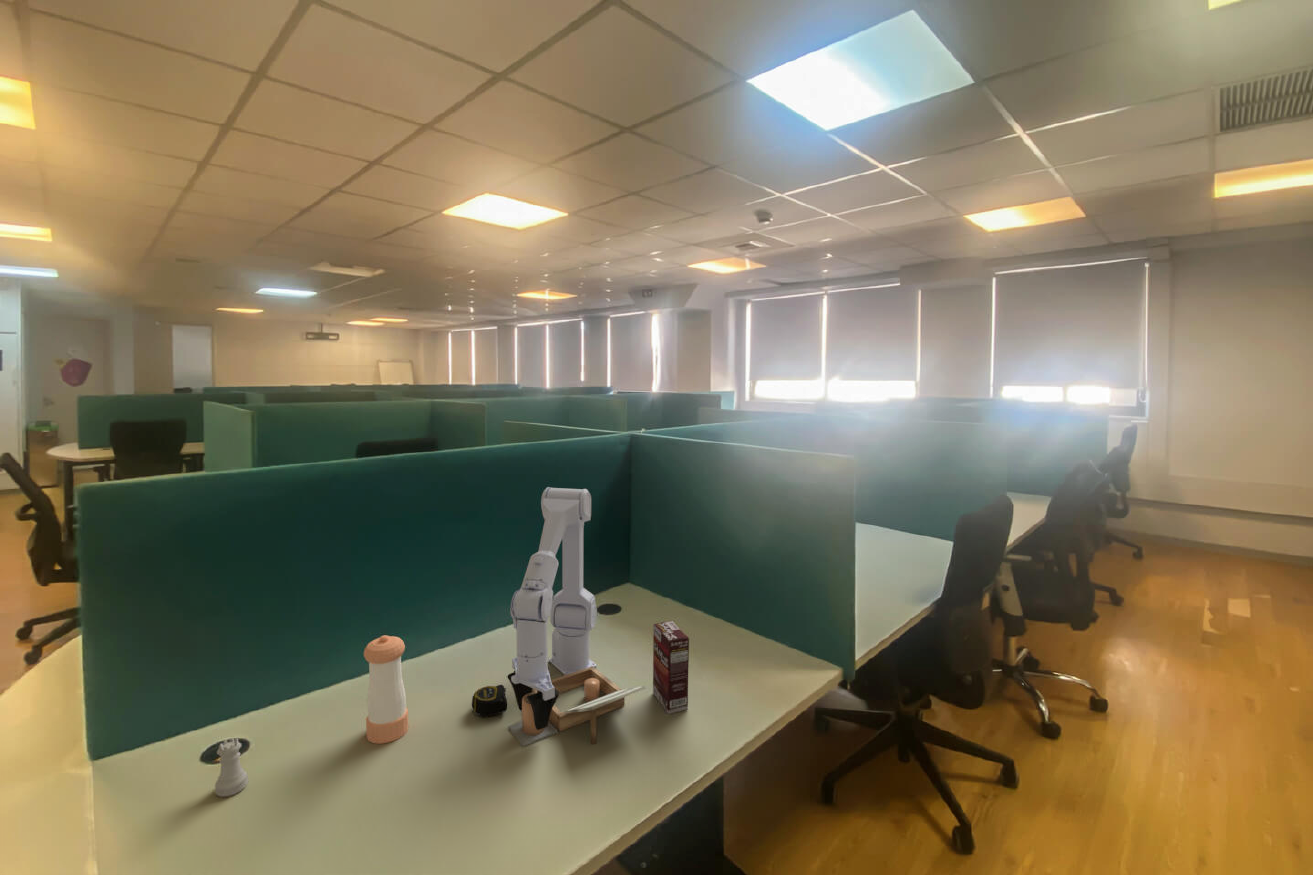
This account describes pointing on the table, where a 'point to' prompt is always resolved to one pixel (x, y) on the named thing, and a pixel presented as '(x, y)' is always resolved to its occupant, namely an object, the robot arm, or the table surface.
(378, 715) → the pepper shaker
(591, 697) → the tan rounded cylinder
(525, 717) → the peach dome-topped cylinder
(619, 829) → the table surface
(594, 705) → the frame
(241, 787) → the rook chess piece
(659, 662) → the supplement box
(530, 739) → the mat
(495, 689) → the tape measure
